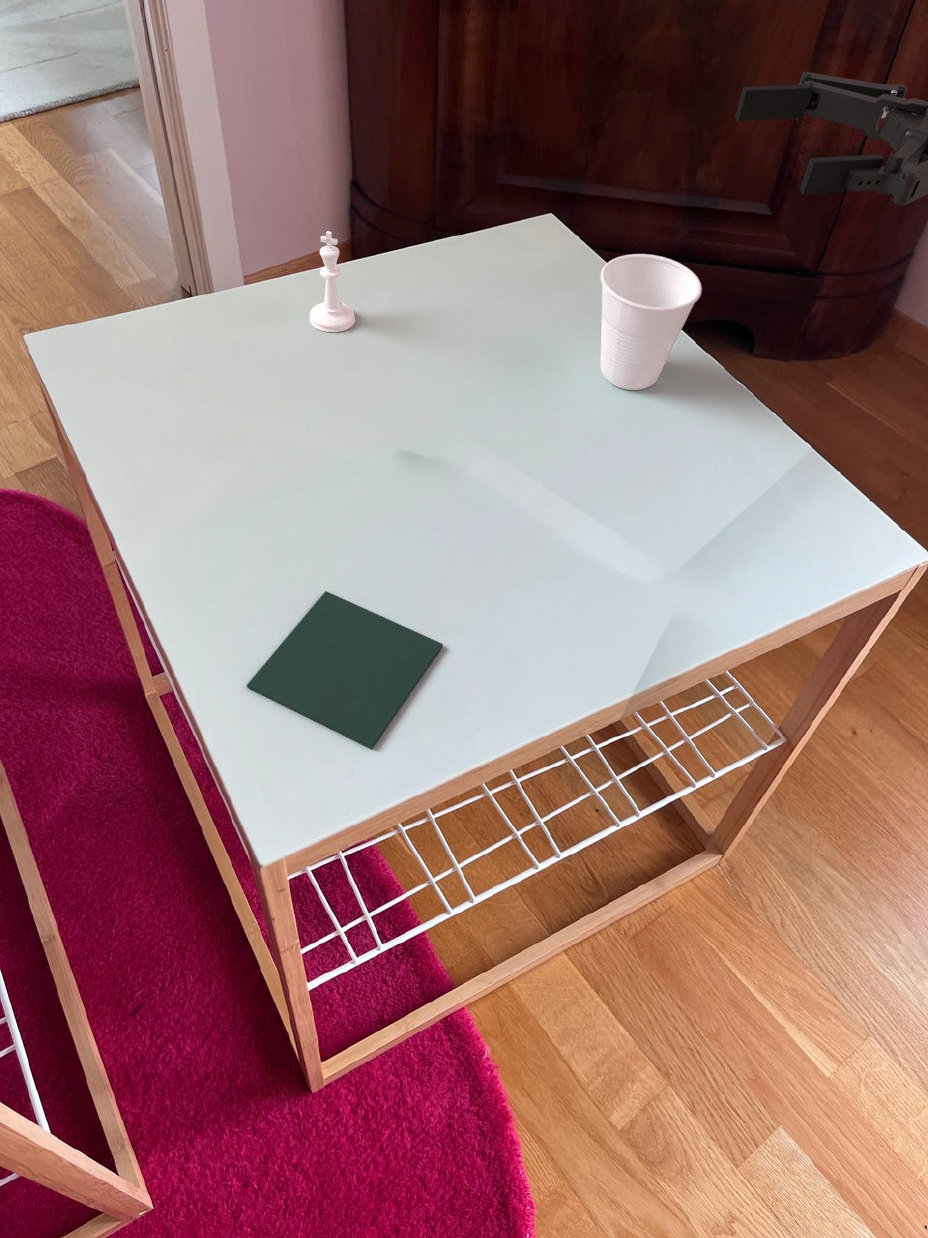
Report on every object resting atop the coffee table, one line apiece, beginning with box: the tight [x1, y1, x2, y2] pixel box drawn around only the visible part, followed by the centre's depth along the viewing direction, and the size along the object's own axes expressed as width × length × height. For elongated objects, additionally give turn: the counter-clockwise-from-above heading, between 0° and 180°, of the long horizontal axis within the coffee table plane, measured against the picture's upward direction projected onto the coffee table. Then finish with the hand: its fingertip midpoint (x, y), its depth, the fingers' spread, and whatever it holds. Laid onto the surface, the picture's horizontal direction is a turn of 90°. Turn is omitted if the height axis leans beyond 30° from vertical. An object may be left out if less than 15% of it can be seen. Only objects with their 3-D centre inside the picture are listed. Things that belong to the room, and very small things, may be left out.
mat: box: [246, 590, 444, 750], centre depth 74 cm, size 11×11×1 cm
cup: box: [600, 253, 703, 391], centre depth 96 cm, size 10×10×11 cm
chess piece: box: [309, 230, 356, 333], centre depth 99 cm, size 5×5×10 cm
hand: (771, 138), depth 83 cm, fingers open, 13 cm apart
